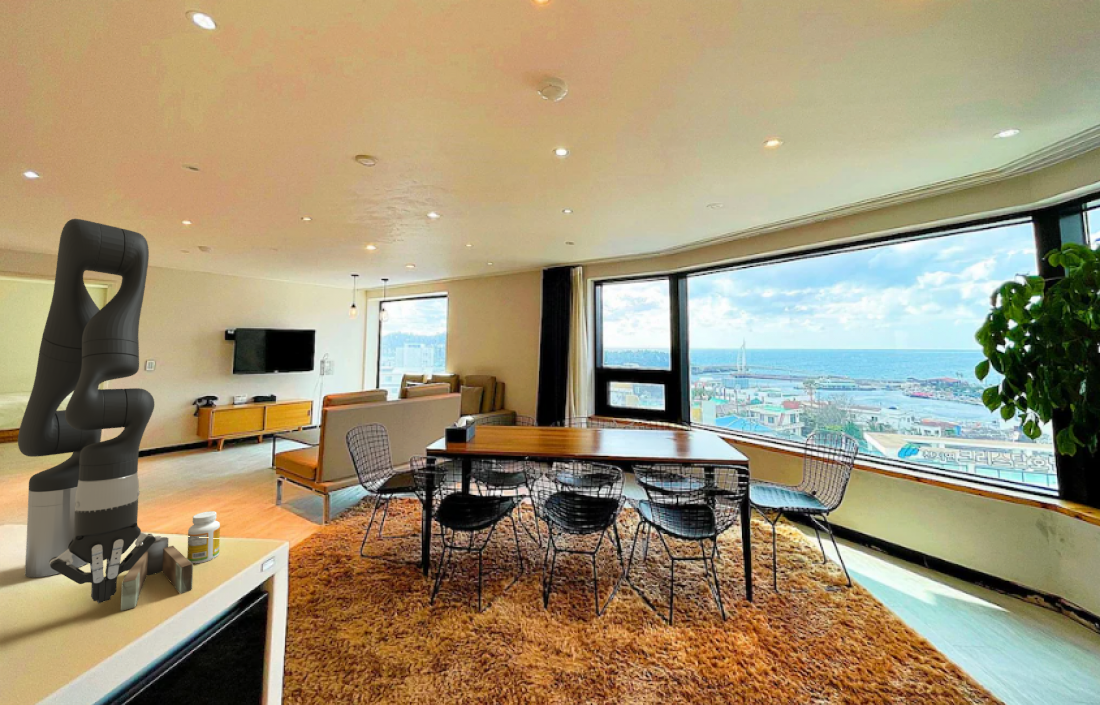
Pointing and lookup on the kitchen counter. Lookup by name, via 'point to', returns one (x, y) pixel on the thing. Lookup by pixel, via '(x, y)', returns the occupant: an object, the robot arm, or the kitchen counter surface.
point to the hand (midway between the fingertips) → (103, 600)
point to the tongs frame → (170, 564)
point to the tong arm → (134, 583)
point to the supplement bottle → (203, 547)
